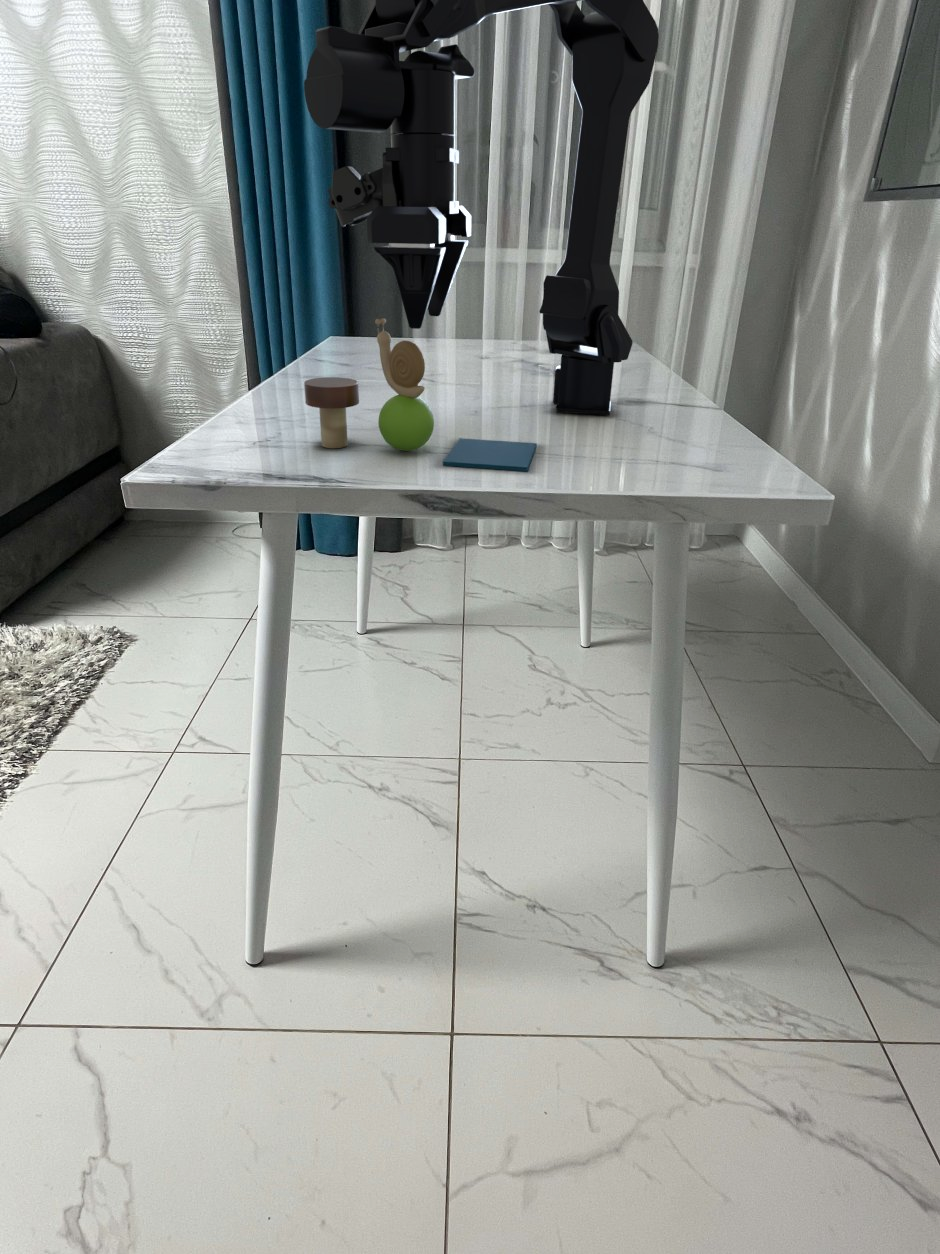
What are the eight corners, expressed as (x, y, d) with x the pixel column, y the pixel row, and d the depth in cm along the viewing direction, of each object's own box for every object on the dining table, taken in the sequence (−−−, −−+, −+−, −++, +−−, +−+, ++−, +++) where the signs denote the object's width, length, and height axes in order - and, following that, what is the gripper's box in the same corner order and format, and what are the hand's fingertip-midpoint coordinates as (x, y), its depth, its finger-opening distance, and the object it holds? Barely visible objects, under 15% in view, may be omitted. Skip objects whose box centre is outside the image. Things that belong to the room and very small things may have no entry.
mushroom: (366, 440, 84) (364, 378, 81) (352, 453, 79) (349, 388, 76) (318, 437, 84) (314, 375, 81) (301, 450, 80) (296, 385, 77)
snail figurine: (401, 438, 85) (399, 316, 79) (445, 450, 81) (446, 323, 75) (361, 447, 81) (356, 320, 76) (405, 460, 77) (403, 327, 72)
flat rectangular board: (536, 447, 83) (536, 443, 83) (527, 471, 75) (527, 467, 75) (459, 441, 84) (459, 438, 84) (442, 465, 76) (442, 461, 76)
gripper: (363, 142, 81) (370, 308, 89) (300, 127, 65) (315, 332, 72) (473, 142, 80) (471, 311, 87) (436, 128, 63) (438, 337, 71)
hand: (425, 321), depth 79 cm, fingers open, 9 cm apart
